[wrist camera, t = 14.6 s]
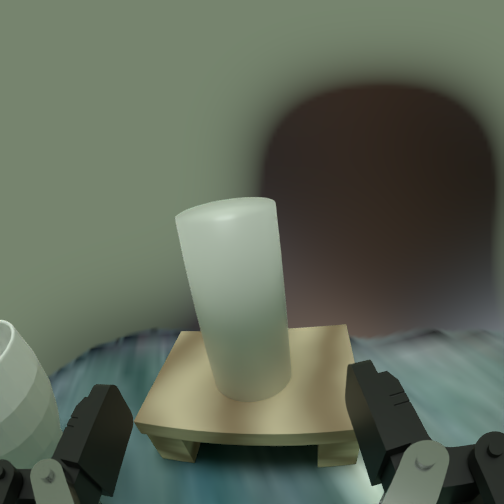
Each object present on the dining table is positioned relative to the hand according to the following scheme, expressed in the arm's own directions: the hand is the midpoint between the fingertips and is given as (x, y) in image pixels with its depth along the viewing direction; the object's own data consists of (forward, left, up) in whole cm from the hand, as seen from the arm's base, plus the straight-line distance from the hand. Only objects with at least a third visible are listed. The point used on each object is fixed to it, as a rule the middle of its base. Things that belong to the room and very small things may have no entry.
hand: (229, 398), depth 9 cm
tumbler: (-4, -10, -9) cm, 14 cm away
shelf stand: (-4, -10, -15) cm, 19 cm away
